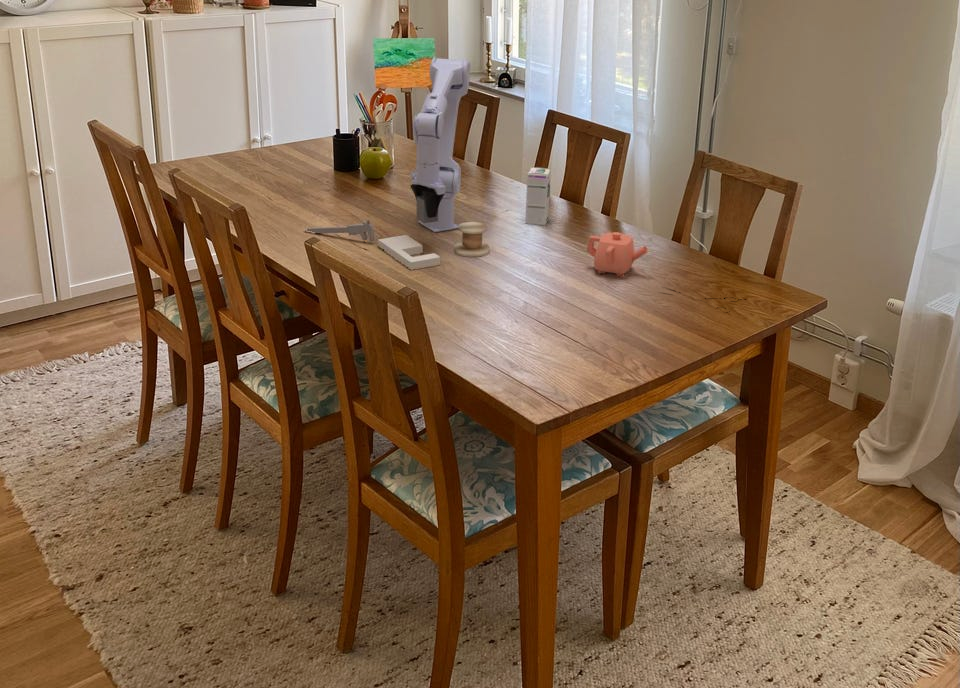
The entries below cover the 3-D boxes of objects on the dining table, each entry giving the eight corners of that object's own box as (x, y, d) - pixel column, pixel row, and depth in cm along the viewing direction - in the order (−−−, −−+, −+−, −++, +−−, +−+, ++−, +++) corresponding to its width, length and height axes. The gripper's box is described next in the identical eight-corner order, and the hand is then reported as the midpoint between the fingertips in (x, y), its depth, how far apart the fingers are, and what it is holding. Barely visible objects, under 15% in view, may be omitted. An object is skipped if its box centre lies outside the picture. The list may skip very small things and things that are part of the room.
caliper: (374, 243, 259) (374, 220, 256) (372, 245, 258) (372, 221, 255) (305, 232, 265) (304, 209, 262) (303, 233, 264) (301, 210, 262)
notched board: (378, 246, 256) (378, 239, 255) (406, 242, 260) (406, 234, 259) (411, 270, 242) (411, 262, 241) (440, 264, 246) (440, 257, 245)
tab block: (416, 218, 256) (416, 196, 254) (430, 216, 258) (430, 194, 255) (424, 223, 253) (424, 200, 250) (438, 221, 255) (438, 198, 252)
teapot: (647, 276, 243) (651, 238, 239) (603, 281, 239) (607, 243, 235) (623, 260, 253) (627, 223, 249) (581, 264, 249) (584, 227, 245)
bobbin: (447, 248, 257) (448, 223, 254) (477, 242, 261) (478, 218, 258) (465, 259, 250) (466, 234, 247) (496, 253, 254) (497, 229, 251)
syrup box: (545, 225, 275) (549, 174, 269) (524, 223, 276) (527, 172, 270) (548, 219, 280) (552, 168, 274) (527, 217, 281) (530, 166, 275)
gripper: (400, 156, 253) (400, 208, 259) (427, 171, 242) (427, 225, 247) (424, 153, 256) (424, 204, 262) (453, 167, 245) (452, 220, 251)
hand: (427, 214), depth 255 cm, fingers closed on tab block, 4 cm apart
